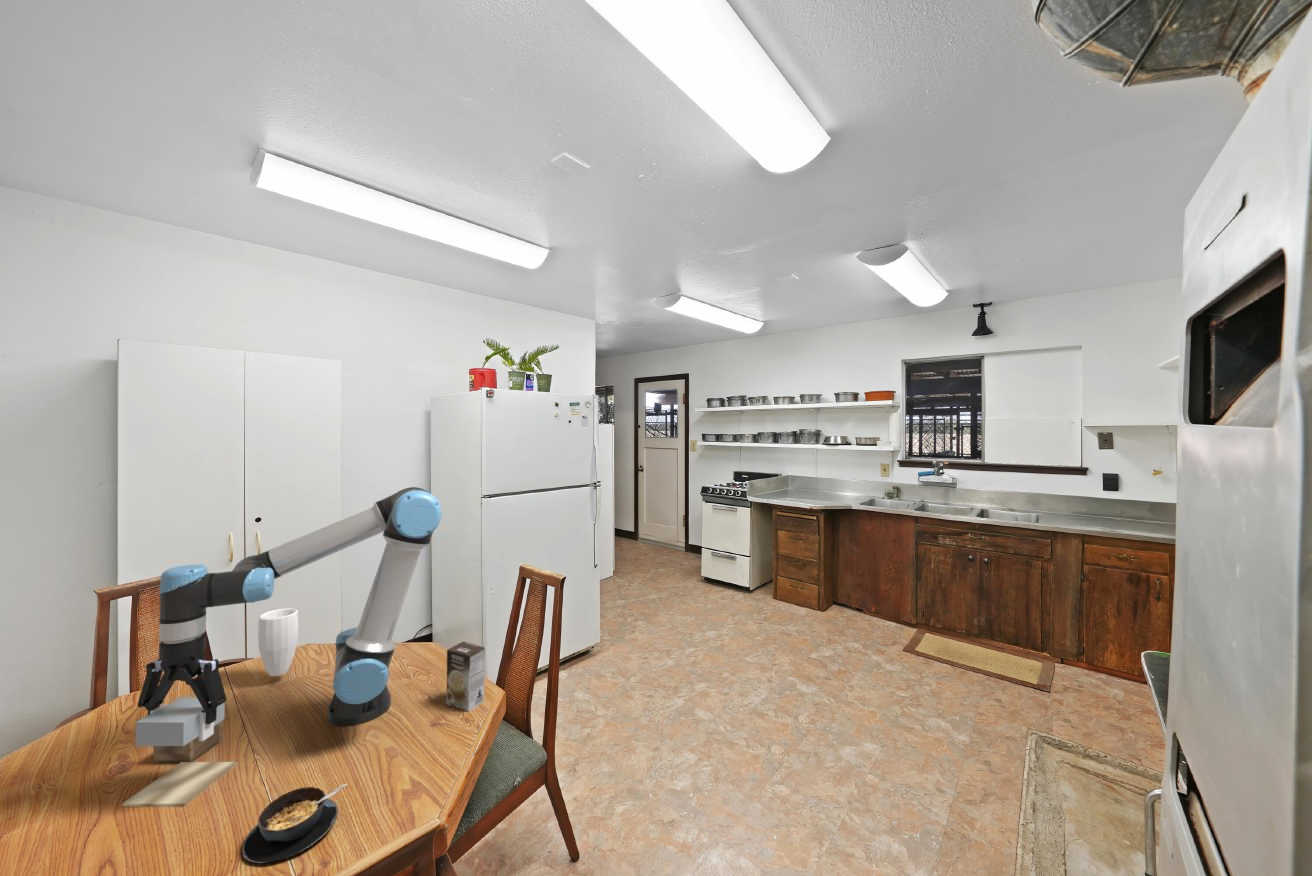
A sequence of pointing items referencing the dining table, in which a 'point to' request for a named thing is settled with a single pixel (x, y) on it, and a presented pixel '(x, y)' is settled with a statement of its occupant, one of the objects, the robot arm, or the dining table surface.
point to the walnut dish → (187, 749)
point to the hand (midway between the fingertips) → (182, 737)
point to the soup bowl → (291, 825)
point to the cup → (278, 639)
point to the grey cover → (173, 723)
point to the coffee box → (465, 676)
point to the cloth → (180, 784)
